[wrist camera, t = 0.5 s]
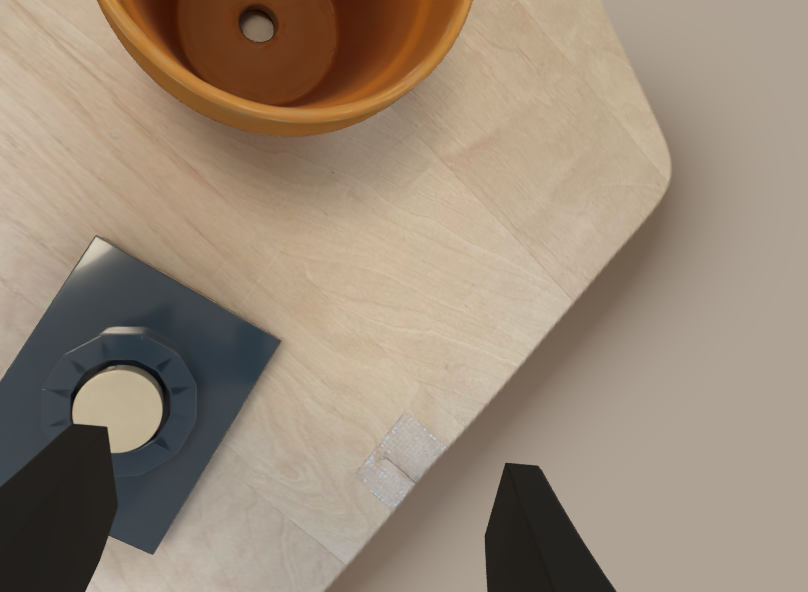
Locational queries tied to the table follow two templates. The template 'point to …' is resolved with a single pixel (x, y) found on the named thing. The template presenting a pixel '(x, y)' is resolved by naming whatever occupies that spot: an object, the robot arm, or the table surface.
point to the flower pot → (288, 56)
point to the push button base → (144, 348)
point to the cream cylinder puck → (121, 405)
